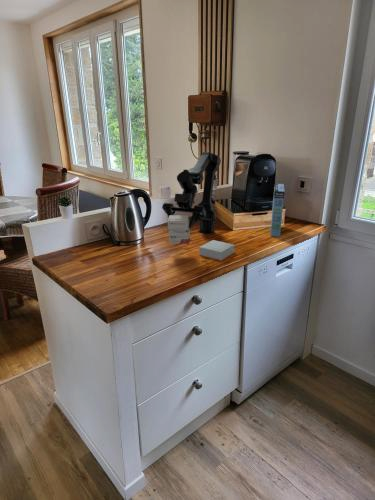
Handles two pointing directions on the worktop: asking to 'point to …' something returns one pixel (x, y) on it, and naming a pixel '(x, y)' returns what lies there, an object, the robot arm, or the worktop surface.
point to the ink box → (178, 229)
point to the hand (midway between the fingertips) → (178, 227)
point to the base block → (216, 249)
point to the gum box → (277, 210)
